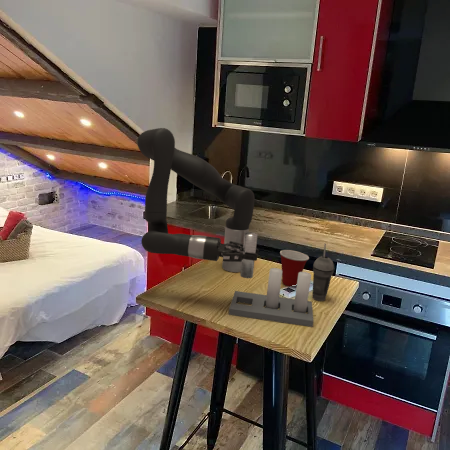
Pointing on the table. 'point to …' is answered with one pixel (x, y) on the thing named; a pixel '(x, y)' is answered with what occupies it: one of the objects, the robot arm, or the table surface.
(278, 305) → the pin board
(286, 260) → the plastic cup
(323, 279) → the beverage cup
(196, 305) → the table surface
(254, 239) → the steel pin
